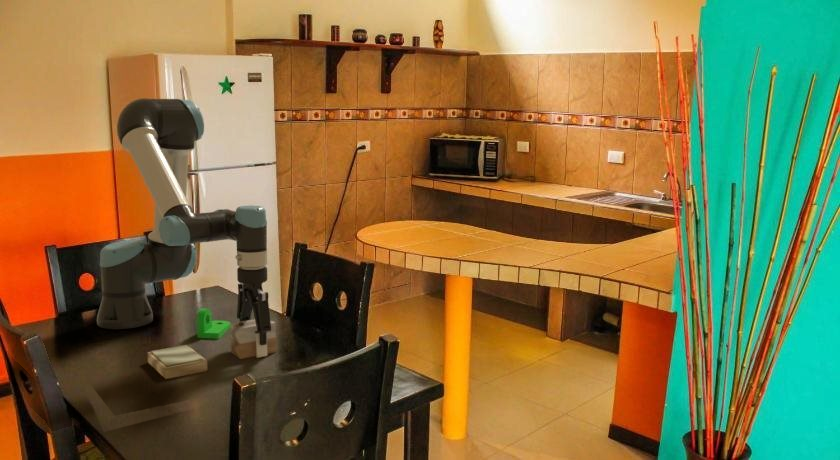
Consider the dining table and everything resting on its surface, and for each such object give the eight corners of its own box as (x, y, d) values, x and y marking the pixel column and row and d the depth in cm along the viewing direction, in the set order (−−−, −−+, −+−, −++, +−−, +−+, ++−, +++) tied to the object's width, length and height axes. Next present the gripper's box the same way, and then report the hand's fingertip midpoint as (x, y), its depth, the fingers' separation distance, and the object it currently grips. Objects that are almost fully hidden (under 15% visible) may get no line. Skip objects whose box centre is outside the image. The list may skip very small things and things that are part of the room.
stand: (147, 362, 184) (147, 350, 183) (187, 355, 190) (187, 343, 189) (165, 379, 173) (165, 366, 172) (207, 370, 179) (207, 358, 178)
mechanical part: (218, 340, 203) (217, 312, 202) (197, 339, 204) (196, 311, 202) (233, 327, 215) (232, 301, 214) (213, 327, 215) (212, 300, 214)
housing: (231, 352, 192) (230, 321, 191) (266, 346, 198) (266, 315, 197) (240, 359, 188) (239, 326, 186) (276, 352, 193) (276, 320, 192)
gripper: (222, 261, 196) (224, 343, 199) (255, 275, 179) (257, 365, 182) (249, 258, 200) (250, 338, 204) (284, 272, 183) (285, 360, 186)
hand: (254, 351), depth 193 cm, fingers open, 9 cm apart
